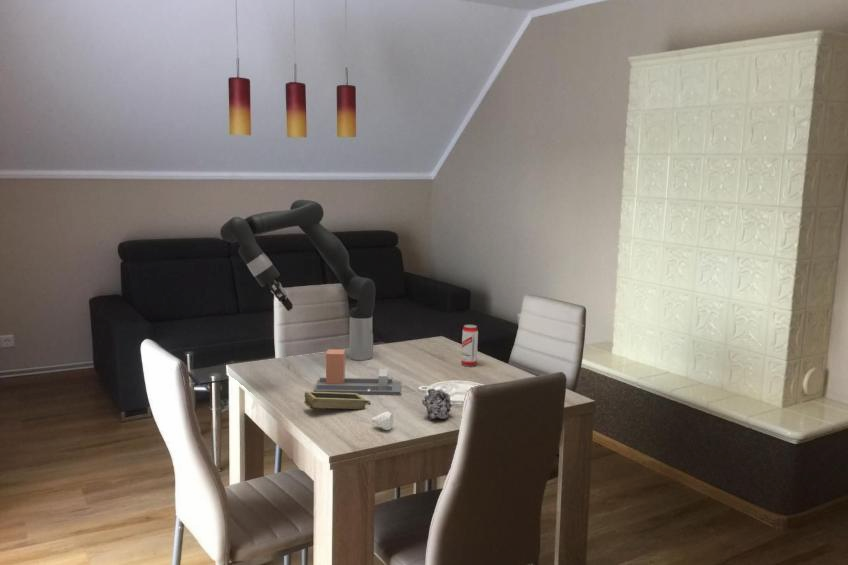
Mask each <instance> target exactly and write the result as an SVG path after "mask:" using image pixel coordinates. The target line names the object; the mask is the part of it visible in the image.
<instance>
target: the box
mask: <svg viewBox="0 0 848 565" xmlns="http://www.w3.org/2000/svg"><path fill="white" fill-rule="evenodd" d="M303 403H304V404H305V405H306V406H307V407H308V408H309V409H310V410H311V409H312V410H317V409H325V410H327V411H330V409H346V410H347V409H350V410H351V409H352V410H353V409H354V410H355V409H357V410H358V409H359V410H364V409H365V408H366V404H367V405H371V401H370V400H368V399H366V398H364V397H363V396H361V395H359V394H357V393H335V392H314V391H307V390H306V391H305V392H304V402H303Z"/></svg>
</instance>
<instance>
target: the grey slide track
mask: <svg viewBox="0 0 848 565" xmlns="http://www.w3.org/2000/svg"><path fill="white" fill-rule="evenodd" d="M388 371H389V369H388V368H379V371H378V378H377V377H375V378H373V377H372V378H371V377H370V378H369V377H367V378H366V377H345V383H344V384H326V376H325V377H321V376H320V377H319V379H318V380H317V381H316V383H315V386H314V388H313V392H335V393H357V394H359V395H360V396H361V395H362V396H363V395H371V396H401V394H402V392H401V387H402V386H401V385H402V384H401V383H402V381H395V380H393V378H389V375H388V374H389V372H388Z"/></svg>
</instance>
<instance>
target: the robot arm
mask: <svg viewBox="0 0 848 565" xmlns="http://www.w3.org/2000/svg"><path fill="white" fill-rule="evenodd" d="M323 217H324V208H323V206H322V205H321V204H320V203H319V202H317V201H314V200H311V199H310V200H308V199H297V200H295V201H294V202H292V203H291V205H290V208H289V209H286V210H273V211H266V212H264V211H263V212H260V213H257V214H256V213H255V214H252V215H249V216H247V217H245V218H242V217H241V216H234V217H231V218H230V219H229V220H227V222H225V223H224V224H222V226H221V228H220V230H219V233H220V236H221V239H222V240H223V241H226V242H228V243H236V242H237V243H238V245H239V248H238V255H239V256H240V258H241V259H242V260H243V262H244V263H245V265H246V266H247V268H248V270H249V271H250V273H251V274H252V276H253V277H254V278H255V280H256V281H257V283H258V284H259V285H260V287H265V286H266V285H269V291H270V292H271V293H272V294H273V296H274V297H275V298H276V299H277V300H278V301H279V303H281V304H282V306H284V309H286V311H287V312H290V311H291V310H292V309H293V303H292V301H291V300H290V298H289V297H288V295H287V293H286V291H285V288H284V287H283V286H282V283H281V282H280V281H279V282H278V281H277V280H276V279H277V278H279V276H280V272H279V271H278V269H277V268H276V266H275V265H274V264H273V262H272V261H271V260H270V258H269V257H268V256H267V254H265V253H264V251H263V250H262V249H261V247H260V246H259V244H258V243H257V241H256V238H255V237H256V236H257V235H262V234H266V233H270V232H275V231H279V230H282V229H288V228H294V227H299V229H300V230H301V231H302V232H303V233H304V234H305V235H306V237H308V239H309V240H310V242H311V243H312V245H313V246H314V247H315V248H316V250H317V251H318V253H319V254H320V257H322V259H323V260H324V261H325V262H326V263H327V265H328V266H329V268H330V269H331V271H332V272H333V273H334V275H335V276H336V277H337V279H338V280H339V282H340V284H341V286H342V288H343V289H344V291H345V293H346V294H347V296H348V297H350V298H351V299H354V300H357V303H356V307H353V308H351V309H350V310H349V348H348V350H349V354H348V355H349V357H348V358H349V359H351V360H354V361H367V360H371V359H372V358H373V356H374V347H373V346H374V333H373V314H374V310H375V306H376V286H375V285H376V284H375V282H374V280H373V279H371V278H368V277H362V276H359V275H357V274H356V273H355V271H354V270H353V269H352V267H351V265H350V255H349V252H348V250H347V248H346V247H345V246H344V244H343V243H342V241H341V240H340V239H339V237H338V236H336V235H335V234H334V233H332V232H331V231H330V230H328V229H327V228H326V227H324V226H323V225H322V224H321V222H322V221H323Z"/></svg>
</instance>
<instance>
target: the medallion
mask: <svg viewBox="0 0 848 565" xmlns="http://www.w3.org/2000/svg"><path fill="white" fill-rule="evenodd" d="M478 385H484V384H482V383H480V382H475V381H468V380H458V379H457V380H445V381H443V380H441V381H439V382H434V383H431V384H430V385H428V386H427V385H422V386H420V385H419V386H418V387H417V388H418V392H419V393H421V394H423V393H424V394H425V396H426V395H428V394H429V393H428V390H429V389H436V391H437V390H440V389H442V390H443V392H445V393H447V394H449V395H450V403H451V404H452V407H455V408H464V407H463V402H464V398H465V395H466V393H467V391H468V390H469V389H470V388H471V387H474V386H478Z"/></svg>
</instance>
